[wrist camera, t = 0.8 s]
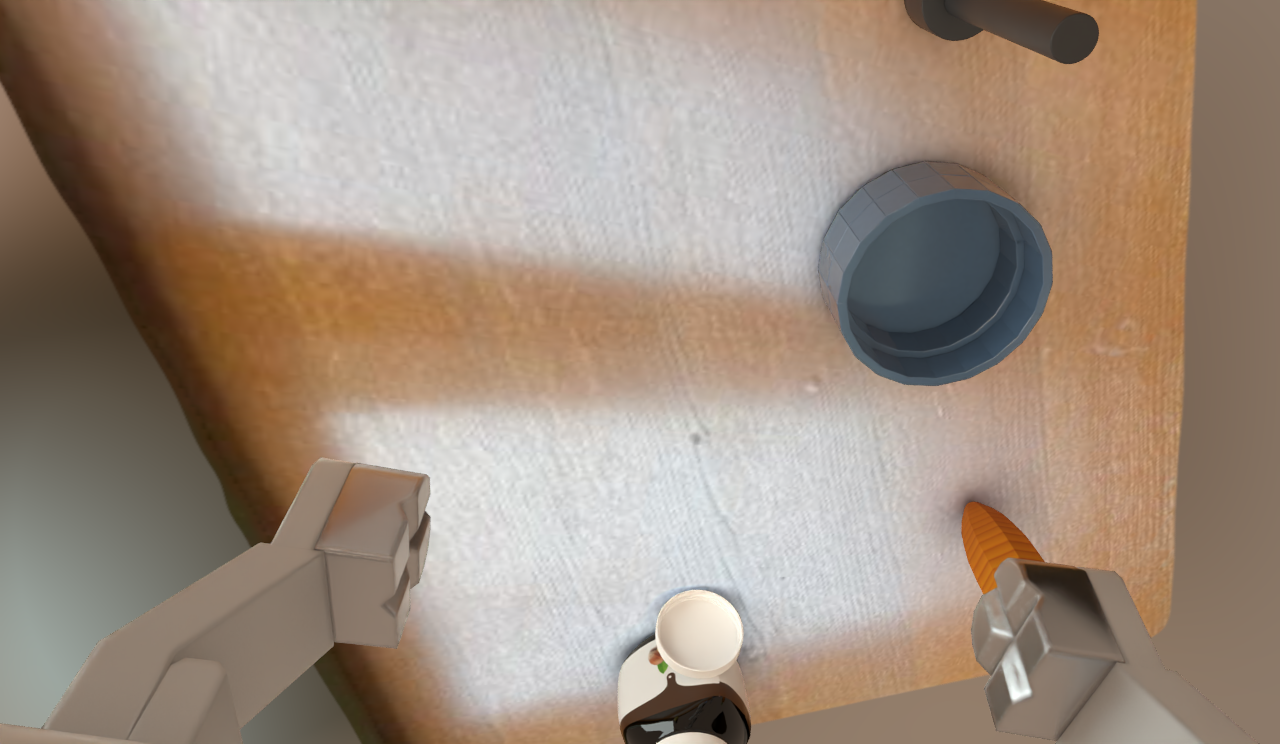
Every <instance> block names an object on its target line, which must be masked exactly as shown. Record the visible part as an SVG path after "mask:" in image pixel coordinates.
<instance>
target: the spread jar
mask: <svg viewBox="0 0 1280 744" xmlns="http://www.w3.org/2000/svg"><path fill="white" fill-rule="evenodd" d="M743 635H744V631H743V624H742V621H741V618H740V616H739V614H738V612H737V610H736V609H735V608H734V607H733V606H732V604H731V603H730V602H728V601H727V600H726V599H725V598H723V597H721V596H720V595H718V594H715V593H713V592H710V591H705V590H689V591H684V592H682V593H679V594H677V595H675V596H674V597H672V598H671V599H670V600H668V601H667V602H666V603H665V604H664V606H663V607H662V609H661V610H660V613H659V615H658V618H657V623H656V631H655V634H654V635H652V636H650V637H649V638H647V639H646V640H645V641H643V642H642V643H641V644H639V645H638V646H637V647H636V648H635V649H634V650H633V651H632V652H631V653H630V655H629V656H628V657H627V659H626V660H625V662H624V663H623V665H622V667H621V670H620V673H619V679H618V716H619V725H620V730H621V734H622V736H623V739H624V742H625V744H747V742H748V740H749V737H750V731H751V717H750V709H749V703H748V698H747V693H746V687H745V683H744V679H743V675H742V672H741V669H740V666H739V664H738V662H737V660H736V659H737V657H738V656H739V653H740V650H741V646H742V643H743Z"/></svg>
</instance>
